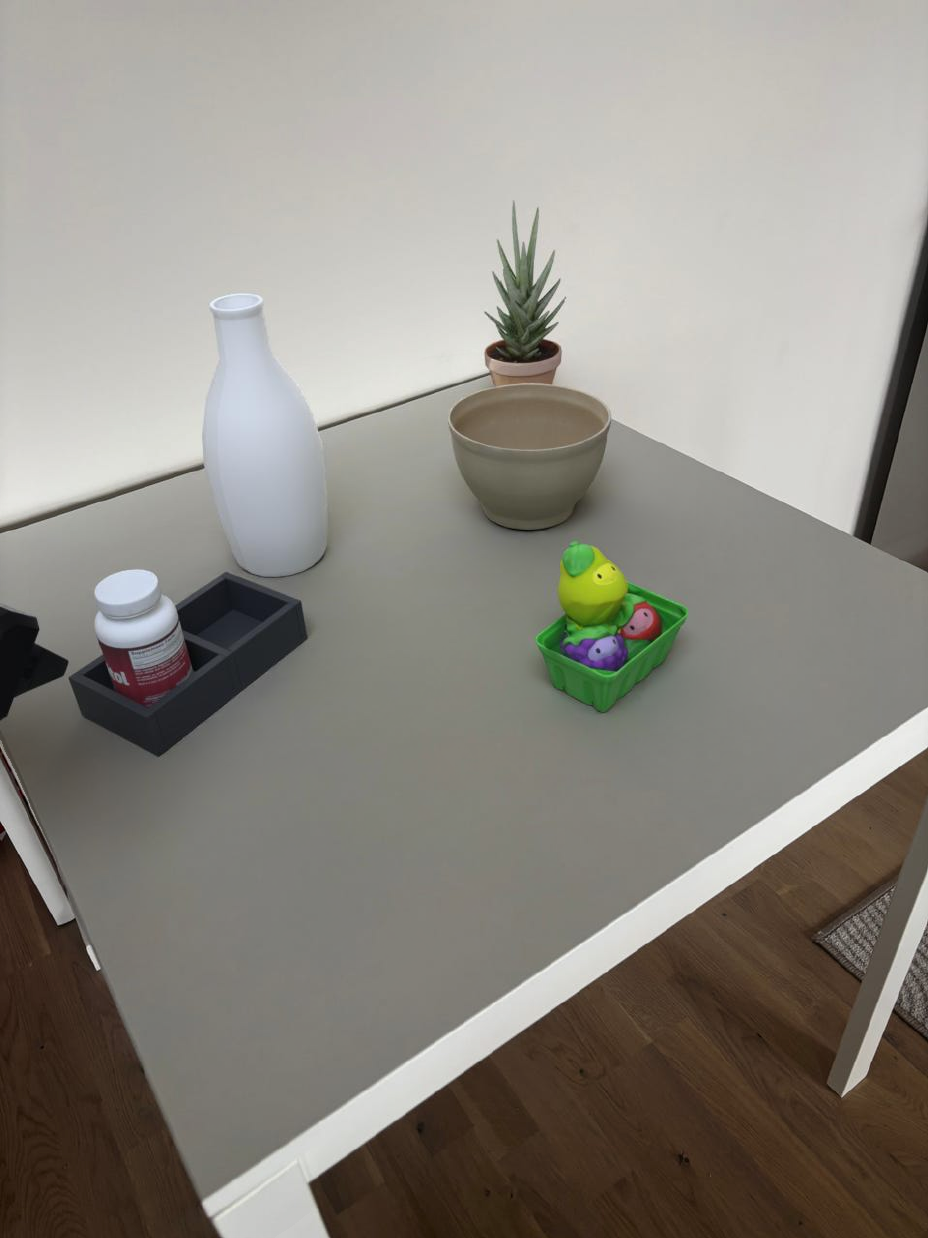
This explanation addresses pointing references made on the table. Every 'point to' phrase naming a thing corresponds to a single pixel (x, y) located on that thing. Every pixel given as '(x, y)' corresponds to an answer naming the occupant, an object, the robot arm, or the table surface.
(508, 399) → the planter bowl
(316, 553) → the bottle
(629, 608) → the fruit basket
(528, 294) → the potted plant
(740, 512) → the table surface
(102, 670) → the tray
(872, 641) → the table surface
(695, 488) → the table surface
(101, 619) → the pill bottle
